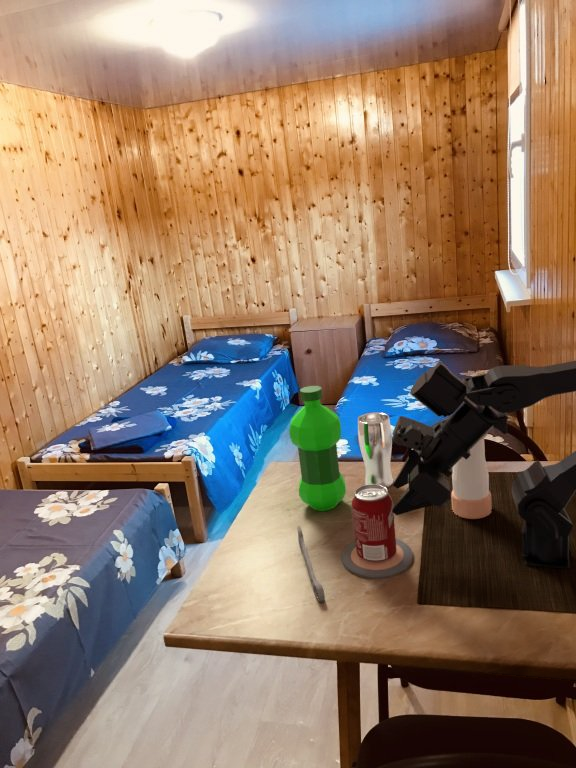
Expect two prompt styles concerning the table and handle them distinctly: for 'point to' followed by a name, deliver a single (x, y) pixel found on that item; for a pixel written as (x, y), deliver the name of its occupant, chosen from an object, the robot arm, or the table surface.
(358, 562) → the coaster
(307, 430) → the plastic bottle
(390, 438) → the beer glass
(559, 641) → the table surface
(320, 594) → the combination wrench
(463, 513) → the pepper shaker
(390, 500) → the soda can
